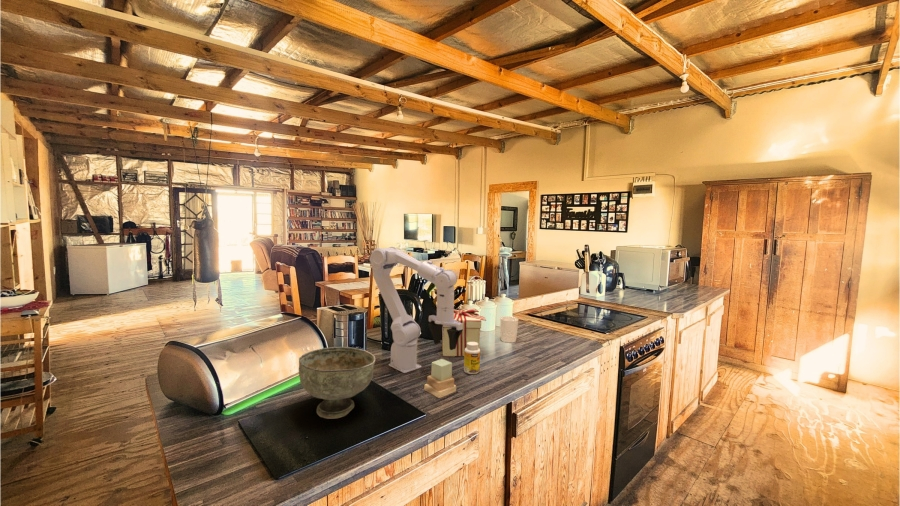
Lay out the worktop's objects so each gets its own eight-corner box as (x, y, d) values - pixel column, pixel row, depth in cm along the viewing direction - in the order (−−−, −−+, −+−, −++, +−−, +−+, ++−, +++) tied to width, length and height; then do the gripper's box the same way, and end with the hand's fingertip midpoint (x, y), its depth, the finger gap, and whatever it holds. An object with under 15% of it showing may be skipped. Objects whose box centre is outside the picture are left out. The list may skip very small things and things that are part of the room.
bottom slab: (424, 392, 115) (424, 384, 115) (440, 385, 120) (440, 378, 120) (439, 400, 110) (439, 392, 110) (455, 393, 115) (456, 385, 115)
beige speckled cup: (520, 339, 167) (521, 318, 166) (513, 344, 160) (514, 322, 159) (503, 336, 171) (504, 315, 170) (496, 341, 164) (497, 319, 163)
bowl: (386, 410, 102) (387, 357, 101) (318, 437, 89) (318, 377, 88) (351, 386, 117) (351, 339, 115) (288, 406, 103) (287, 354, 102)
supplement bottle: (470, 376, 126) (470, 347, 126) (460, 370, 131) (461, 342, 130) (482, 372, 130) (483, 344, 129) (473, 367, 134) (474, 339, 133)
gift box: (443, 360, 140) (444, 316, 138) (439, 344, 158) (439, 304, 156) (487, 359, 142) (489, 315, 140) (478, 343, 160) (479, 304, 159)
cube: (431, 376, 115) (431, 362, 115) (441, 372, 118) (441, 358, 118) (441, 381, 112) (441, 366, 112) (451, 376, 115) (452, 362, 115)
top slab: (427, 383, 116) (427, 376, 115) (443, 379, 119) (443, 371, 119) (438, 391, 111) (438, 383, 111) (454, 386, 114) (454, 378, 114)
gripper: (422, 304, 126) (421, 343, 127) (452, 312, 116) (451, 354, 117) (437, 301, 131) (436, 339, 132) (467, 309, 121) (466, 349, 122)
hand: (444, 346), depth 125 cm, fingers open, 7 cm apart
